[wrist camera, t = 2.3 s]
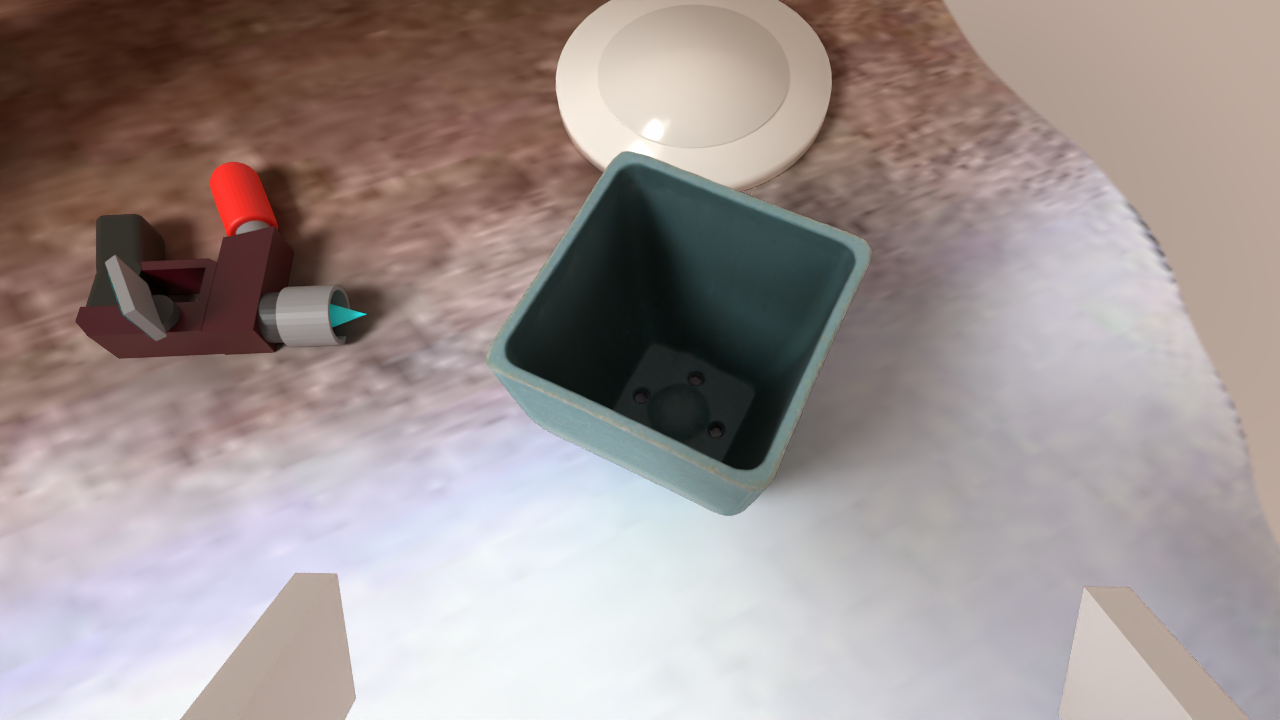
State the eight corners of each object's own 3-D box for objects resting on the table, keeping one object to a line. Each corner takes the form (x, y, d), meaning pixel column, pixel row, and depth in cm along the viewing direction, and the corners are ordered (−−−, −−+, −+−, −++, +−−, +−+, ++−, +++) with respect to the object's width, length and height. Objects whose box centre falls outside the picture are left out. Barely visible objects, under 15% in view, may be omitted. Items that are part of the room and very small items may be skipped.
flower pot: (827, 369, 32) (880, 240, 24) (738, 568, 29) (765, 496, 21) (632, 287, 34) (620, 142, 26) (527, 465, 31) (476, 362, 23)
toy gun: (372, 364, 33) (327, 305, 29) (86, 377, 33) (-2, 320, 29) (396, 178, 37) (360, 102, 33) (142, 190, 38) (74, 116, 33)
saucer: (505, 129, 38) (500, 111, 37) (646, -35, 43) (645, -54, 42) (748, 242, 35) (751, 226, 34) (872, 51, 39) (877, 32, 38)
